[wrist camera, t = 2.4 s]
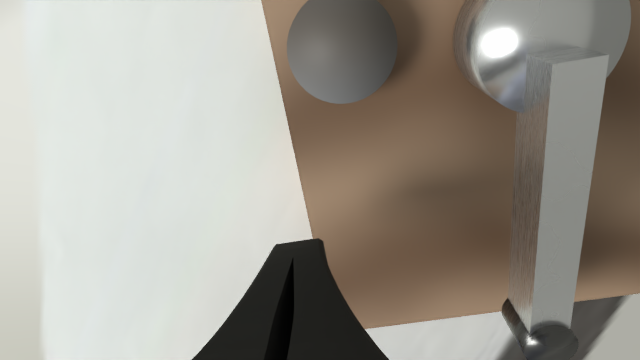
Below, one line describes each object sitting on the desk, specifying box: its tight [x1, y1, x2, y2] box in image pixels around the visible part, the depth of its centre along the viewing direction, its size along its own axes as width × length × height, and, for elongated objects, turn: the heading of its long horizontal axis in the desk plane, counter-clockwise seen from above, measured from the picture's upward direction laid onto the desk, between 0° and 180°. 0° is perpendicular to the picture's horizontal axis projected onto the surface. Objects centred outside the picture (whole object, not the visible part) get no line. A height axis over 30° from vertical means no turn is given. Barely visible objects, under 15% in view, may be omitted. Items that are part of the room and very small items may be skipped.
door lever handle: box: [453, 0, 631, 360], centre depth 12 cm, size 12×4×3 cm, turn 10°
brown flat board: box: [261, 0, 640, 329], centre depth 13 cm, size 18×14×3 cm
